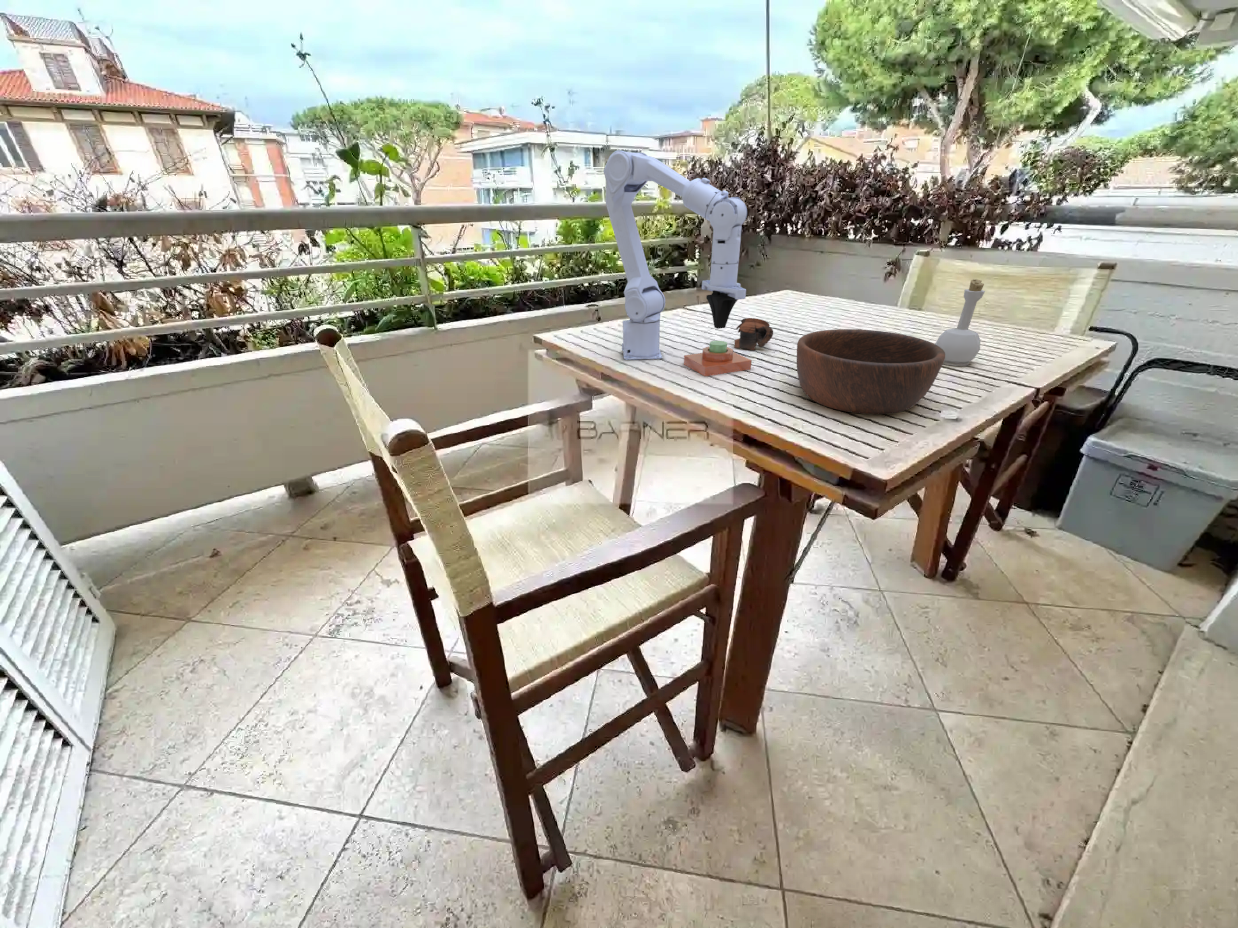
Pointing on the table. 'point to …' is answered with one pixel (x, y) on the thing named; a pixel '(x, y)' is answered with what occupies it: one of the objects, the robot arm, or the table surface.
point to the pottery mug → (753, 333)
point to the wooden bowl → (867, 369)
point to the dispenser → (717, 362)
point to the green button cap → (718, 346)
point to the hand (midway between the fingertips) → (719, 327)
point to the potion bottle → (963, 331)
